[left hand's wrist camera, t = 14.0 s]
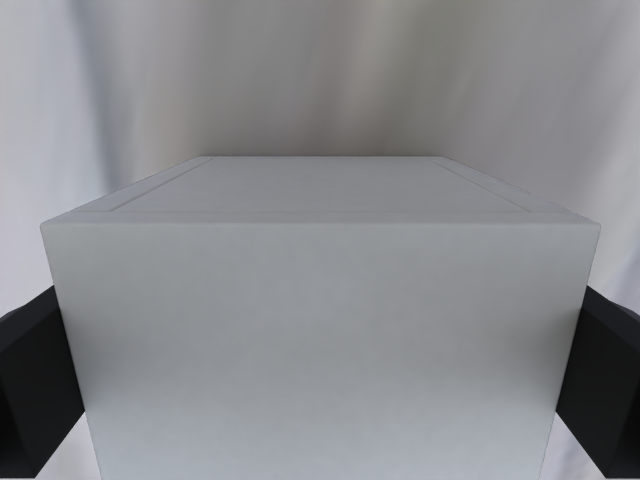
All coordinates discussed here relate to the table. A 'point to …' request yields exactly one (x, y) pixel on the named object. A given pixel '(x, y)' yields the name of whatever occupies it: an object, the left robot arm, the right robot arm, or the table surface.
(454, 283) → the grey box
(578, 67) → the table surface
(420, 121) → the table surface
